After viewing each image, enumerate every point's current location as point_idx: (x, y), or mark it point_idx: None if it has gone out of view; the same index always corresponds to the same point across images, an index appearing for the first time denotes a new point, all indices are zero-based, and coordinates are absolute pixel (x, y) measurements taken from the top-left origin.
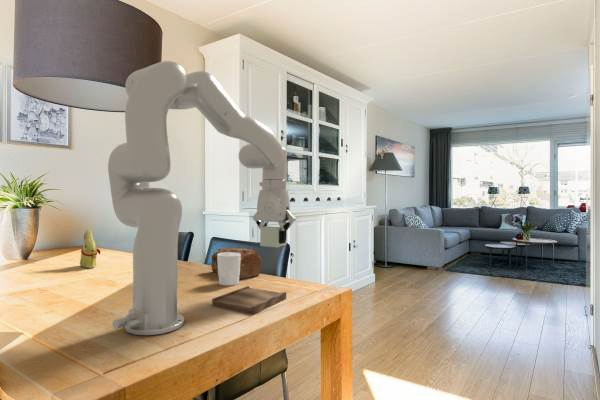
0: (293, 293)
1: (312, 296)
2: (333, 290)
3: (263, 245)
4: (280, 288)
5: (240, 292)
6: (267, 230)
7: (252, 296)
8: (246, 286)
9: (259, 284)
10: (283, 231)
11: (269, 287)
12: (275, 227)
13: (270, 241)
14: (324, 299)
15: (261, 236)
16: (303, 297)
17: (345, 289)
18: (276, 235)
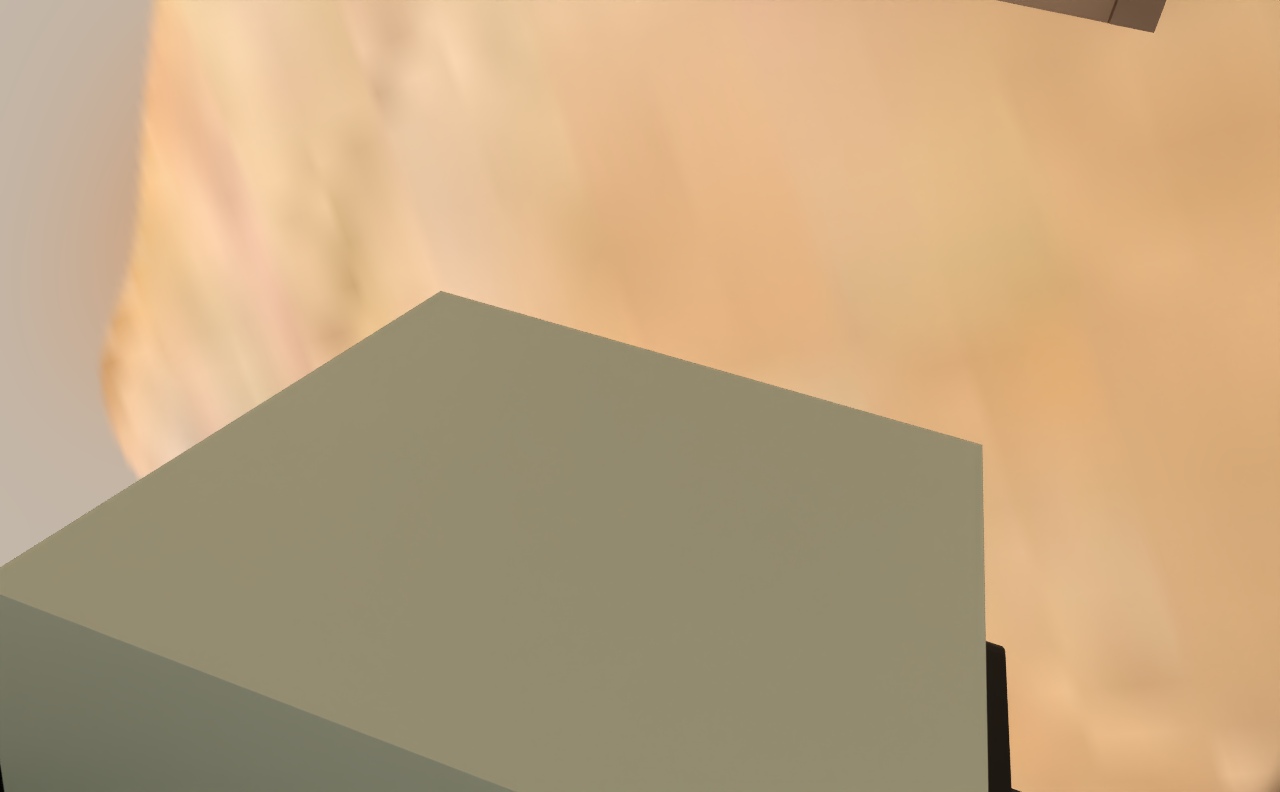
0: (517, 174)
1: (293, 116)
2: (207, 403)
3: (859, 422)
4: (737, 352)
5: None
6: (553, 662)
7: None
8: (1160, 3)
9: (1075, 482)
10: None
11: (889, 366)
12: (146, 787)
13: (568, 400)
14: (151, 41)
15: (925, 598)
16: (359, 41)
17: (133, 462)
18: (231, 425)
